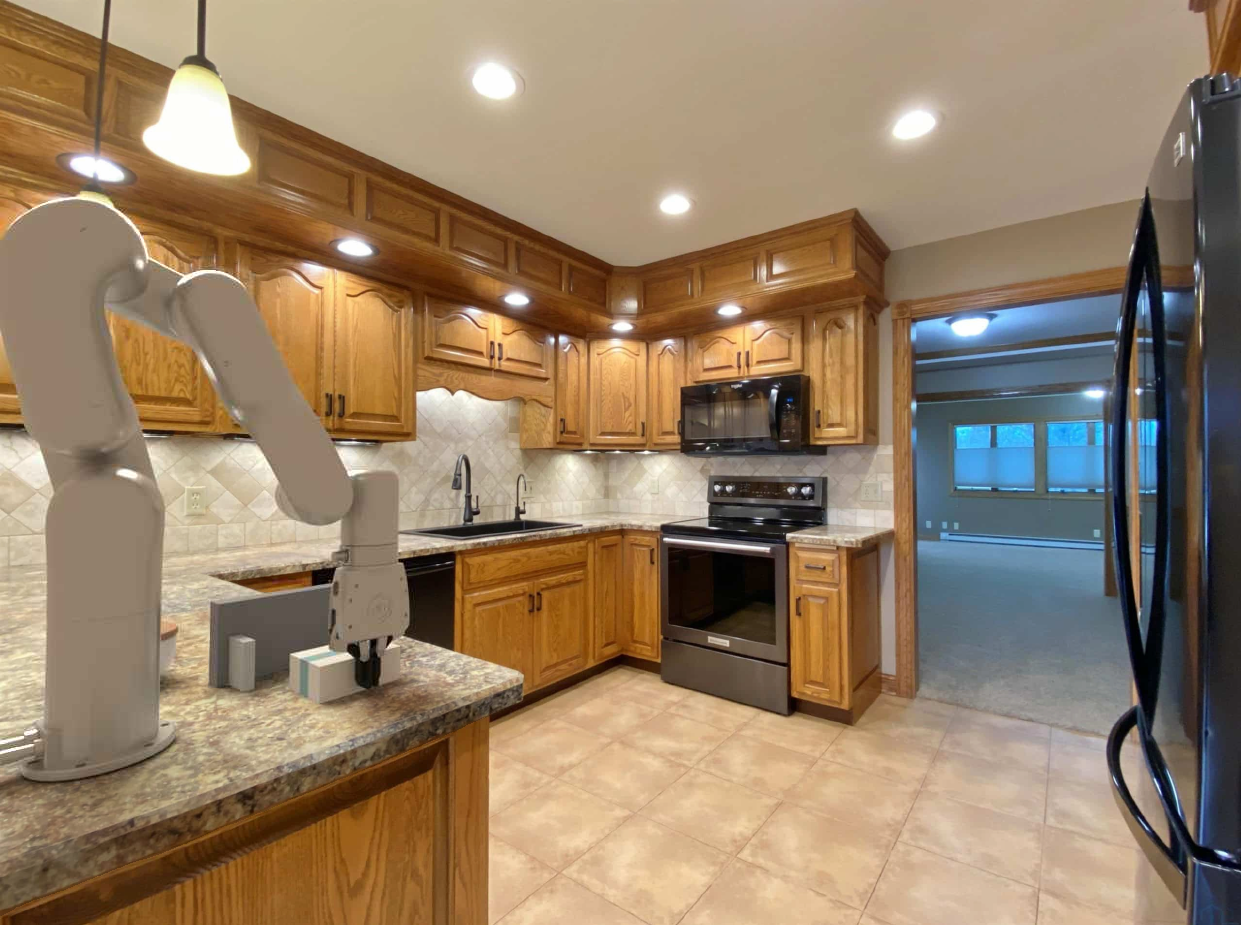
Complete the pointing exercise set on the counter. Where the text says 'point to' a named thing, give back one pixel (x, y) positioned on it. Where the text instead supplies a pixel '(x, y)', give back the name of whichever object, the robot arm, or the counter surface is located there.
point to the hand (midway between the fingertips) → (367, 685)
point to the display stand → (265, 633)
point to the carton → (335, 672)
